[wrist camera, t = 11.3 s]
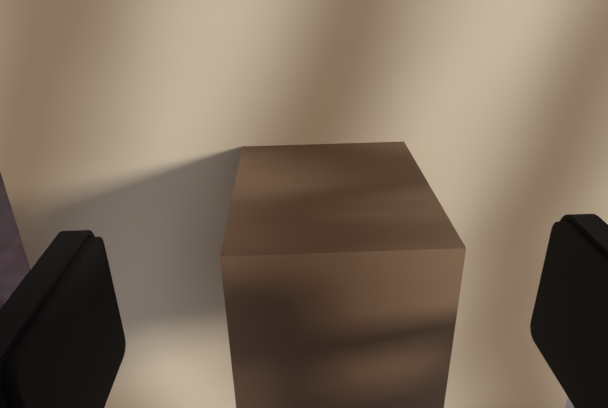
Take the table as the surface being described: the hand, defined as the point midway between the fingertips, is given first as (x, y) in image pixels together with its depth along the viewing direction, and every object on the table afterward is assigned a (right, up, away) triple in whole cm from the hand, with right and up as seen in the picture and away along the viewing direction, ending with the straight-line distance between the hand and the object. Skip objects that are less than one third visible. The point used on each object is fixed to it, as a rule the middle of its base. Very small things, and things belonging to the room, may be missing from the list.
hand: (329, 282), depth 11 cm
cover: (0, +2, +4) cm, 4 cm away
